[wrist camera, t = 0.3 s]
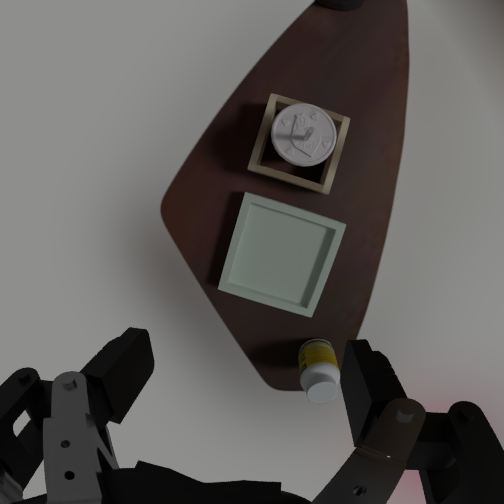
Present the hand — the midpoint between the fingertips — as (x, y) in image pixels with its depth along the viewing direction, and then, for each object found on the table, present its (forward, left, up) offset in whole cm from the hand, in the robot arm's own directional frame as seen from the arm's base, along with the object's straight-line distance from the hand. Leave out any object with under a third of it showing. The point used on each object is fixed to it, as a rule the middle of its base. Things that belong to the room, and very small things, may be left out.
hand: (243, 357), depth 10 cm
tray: (+2, +2, -27) cm, 27 cm away
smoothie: (-12, 0, -28) cm, 30 cm away
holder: (-12, 0, -27) cm, 30 cm away
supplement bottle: (+15, +12, -28) cm, 33 cm away
